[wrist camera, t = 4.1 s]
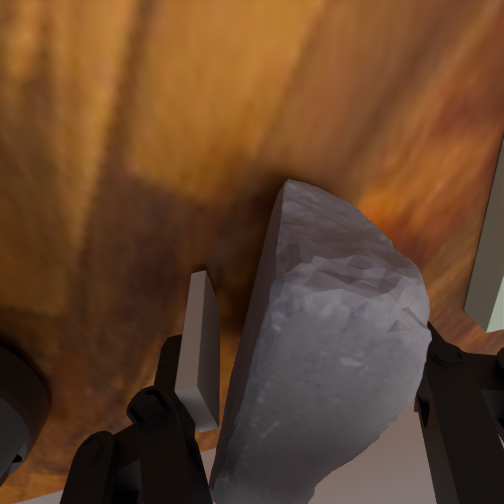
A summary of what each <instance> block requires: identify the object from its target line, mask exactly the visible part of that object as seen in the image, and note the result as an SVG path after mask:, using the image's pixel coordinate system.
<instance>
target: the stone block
mask: <svg viewBox="0 0 504 504" xmlns="http://www.w3.org/2000/svg"><path fill="white" fill-rule="evenodd" d="M429 315H430V304H429V298H428V295H427V292H426V288H425V285H424V282H423V279H422V277H421V274H420V272H419V269H418V267H417V266H416V265H415V264H414V263H413V262H412V261H411V260H409V259H408V258H406V257H405V256H404V255H402V254H401V253H400V252H398V251H397V250H396V249H395V248H394V247H393V246H392V241H391V240H390V239H389V238H387V237H386V236H385V235H384V233H383V232H382V231H381V230H380V229H379V228H378V227H377V226H376V225H375V224H373V223H372V222H371V221H370V220H368V218H367V217H365V216H364V215H363V214H362V213H361V211H360V210H359V209H358V208H356V207H355V206H354V205H353V204H352V203H350V202H348V201H346V200H344V199H342V198H339V197H336V196H334V195H332V194H331V193H329V192H327V191H325V190H323V189H321V188H319V187H316V186H313V185H310V184H307V183H305V182H300V181H295V180H291V179H288V180H287V181H286V182H285V183H284V185H283V186H282V188H281V189H280V191H279V193H278V195H277V197H276V201H275V204H274V207H273V211H272V215H271V217H270V221H269V225H268V229H267V233H266V238H265V242H264V246H263V250H262V254H261V259H260V261H259V263H258V270H257V274H256V278H255V282H254V286H253V290H252V295H251V299H250V303H249V307H248V312H247V316H246V320H245V325H244V329H243V332H242V336H241V339H240V343H239V347H238V351H237V354H236V357H235V362H234V367H233V370H232V374H231V377H230V383H229V389H228V395H227V400H226V404H225V408H224V416H223V421H222V427H221V431H220V436H219V440H218V443H217V448H216V455H215V460H214V464H213V467H212V470H211V475H210V481H209V490H210V494H211V497H212V500H213V501H214V502H215V503H216V504H308V501H310V499H311V498H312V496H313V495H314V489H315V486H316V485H317V484H318V483H319V482H320V481H321V480H322V479H323V478H324V477H326V476H327V475H328V474H330V473H331V472H332V471H333V470H335V469H337V468H339V467H340V466H342V465H344V464H346V463H347V462H349V461H351V460H352V459H353V458H355V457H356V456H357V455H359V454H360V453H362V452H363V451H364V450H365V449H367V447H368V446H369V445H371V444H372V443H373V442H375V441H376V440H377V439H378V438H379V436H380V434H381V433H382V432H383V431H384V430H385V429H386V428H387V427H389V426H390V425H391V424H392V423H393V422H394V421H395V420H396V419H397V417H398V415H399V414H400V413H401V412H402V411H403V410H404V409H405V408H406V406H407V405H408V404H409V403H410V402H411V401H412V400H413V398H414V397H415V394H416V392H417V390H418V387H419V385H420V382H421V379H422V375H423V370H424V364H425V362H426V354H427V350H428V345H429V343H430V342H431V340H432V337H431V331H430V330H429V329H428V328H427V322H428V318H429Z"/></svg>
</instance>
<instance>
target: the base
mask: <svg viewBox="0 0 504 504" xmlns="http://www.w3.org/2000/svg"><path fill="white" fill-rule="evenodd" d="M464 311H465V312H466V313H467V314H468V315H469V316H470V317H471V318H472V319H473V320H474V321H475V322H476V323H477V324H478V325H479V326H480V327H481V328H482V329H483V330H484V331H485V332H486V333H488V332H492V331H497V330H502V329H504V138H503V142H502V147H501V151H500V155H499V160H498V164H497V168H496V173H495V177H494V181H493V186H492V190H491V194H490V199H489V203H488V207H487V212H486V216H485V220H484V225H483V229H482V233H481V238H480V242H479V246H478V251H477V255H476V259H475V263H474V268H473V272H472V276H471V281H470V285H469V289H468V294H467V298H466V302H465V307H464Z"/></svg>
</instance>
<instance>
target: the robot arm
mask: <svg viewBox="0 0 504 504" xmlns="http://www.w3.org/2000/svg"><path fill="white" fill-rule="evenodd" d="M427 328H428V329H429V330H430V331H431V337H432V340H431V342H430V343H429V345H428V350H427V354H426V362H425V364H424V370H423V375H422V379H421V382H420V385H419V387H418V390H417V392H416V398H415V405H414V412H418V414H419V419H420V423H421V428H422V433H423V438H424V443H425V447H426V453H427V458H428V462H429V467H430V472H431V477H432V482H433V487H434V492H435V497H436V502H437V504H504V448H503V446H502V443H501V440H500V438H499V436H500V437H501V439H502V440H503V442H504V347H503V348H501V350H500V351H499V352H498V353H497V355H485V354H473V353H467V352H463V351H462V350H461V349H459V348H458V347H457V346H455V345H452V344H450V343H447V342H445V340H444V339H443V338H442V337H441V336H440V335H439V333H438V332H437V331H436V330H435V328H434V327H433V326H432V325H431V323H430V322H429V321H428V322H427ZM159 359H160V360H159V362H158V369H157V372H156V376H155V381H154V386H149V387H146V388H144V389H142V390H141V391H139V392H138V393H137V394H136V395H135V396H134V397H133V398H132V399H131V401H130V403H129V405H128V407H127V413H126V415H127V416H128V417H129V418H130V420H131V421H132V422H133V423H134V424H132V425H131V426H129V427H127V428H125V429H123V430H122V431H120V432H118V433H116V434H114V435H112V434H111V433H110V432H107V431H99V432H97V433H94V434H92V435H91V436H90V437H88V438H87V439H86V440H85V441H84V442H83V443H82V444H81V446H80V447H79V448H78V450H77V452H76V454H75V456H74V458H73V462H72V465H71V468H70V471H69V475H68V478H67V481H66V484H65V488H64V491H63V494H62V497H61V501H60V504H143V503H144V504H213V501H212V497H211V494H210V490H209V486H208V482H207V478H206V474H205V470H204V466H203V462H202V459H201V455H200V451H199V447H198V444H197V442H196V440H195V438H194V437H195V426H196V427H197V429H198V431H199V432H205V431H210V430H214V429H219V385H220V307H219V304H218V301H217V299H216V296H215V293H214V291H213V288H212V285H211V283H210V280H209V277H208V274H207V272H206V270H205V271H200V272H196V273H192V274H191V281H190V288H189V295H188V302H187V309H186V315H185V322H184V329H183V334H181V335H176V336H172V337H168V338H167V340H166V341H165V343H164V345H163V346H162V348H161V353H160V358H159ZM49 409H50V404H49V398H48V395H47V392H46V390H45V388H44V386H43V384H42V382H41V381H40V379H39V378H38V377H37V375H36V374H35V373H34V372H33V371H32V370H31V369H30V368H29V367H28V366H27V365H26V364H25V363H24V362H23V361H22V360H20V359H19V358H18V357H17V356H15V355H14V354H13V353H11V352H10V351H8V350H7V349H5V348H4V347H2V346H1V345H0V487H1V486H2V484H3V483H4V482H5V480H6V479H7V478H8V476H9V475H10V474H12V473H13V472H14V471H15V470H17V468H18V467H19V466H20V465H21V464H22V463H23V462H24V460H25V459H26V458H27V456H28V455H29V453H30V452H31V450H32V448H33V447H34V444H35V442H36V440H37V438H38V436H39V434H40V432H41V430H42V428H43V426H44V424H45V422H46V420H47V418H48V415H49ZM498 434H499V435H498Z"/></svg>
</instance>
